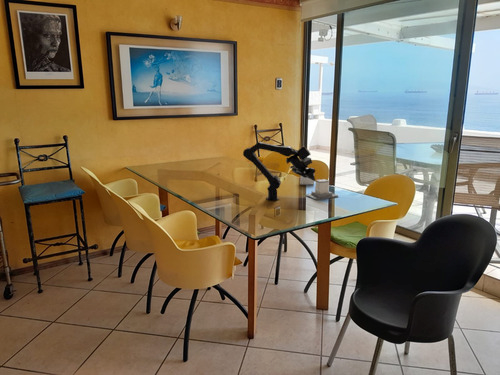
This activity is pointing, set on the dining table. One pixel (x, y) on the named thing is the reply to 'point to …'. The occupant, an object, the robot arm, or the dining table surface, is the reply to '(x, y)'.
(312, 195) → the socket board
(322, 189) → the plug
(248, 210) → the dining table surface
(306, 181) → the photo printer
